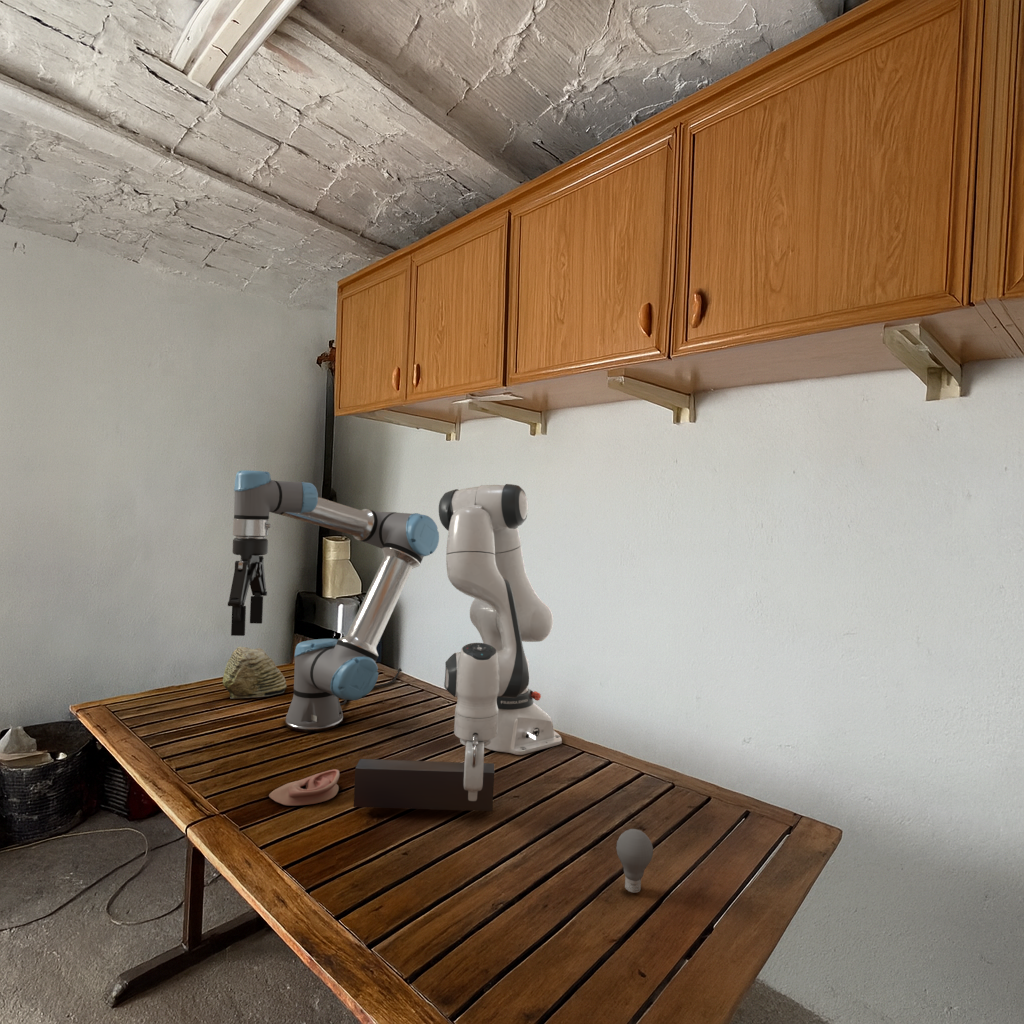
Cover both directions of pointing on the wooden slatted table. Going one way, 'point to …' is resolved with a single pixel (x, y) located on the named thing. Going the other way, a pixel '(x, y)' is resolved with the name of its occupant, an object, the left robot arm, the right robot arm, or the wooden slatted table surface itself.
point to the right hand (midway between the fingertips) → (472, 792)
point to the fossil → (252, 674)
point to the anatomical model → (308, 789)
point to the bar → (419, 785)
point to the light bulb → (634, 857)
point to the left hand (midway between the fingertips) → (247, 629)
